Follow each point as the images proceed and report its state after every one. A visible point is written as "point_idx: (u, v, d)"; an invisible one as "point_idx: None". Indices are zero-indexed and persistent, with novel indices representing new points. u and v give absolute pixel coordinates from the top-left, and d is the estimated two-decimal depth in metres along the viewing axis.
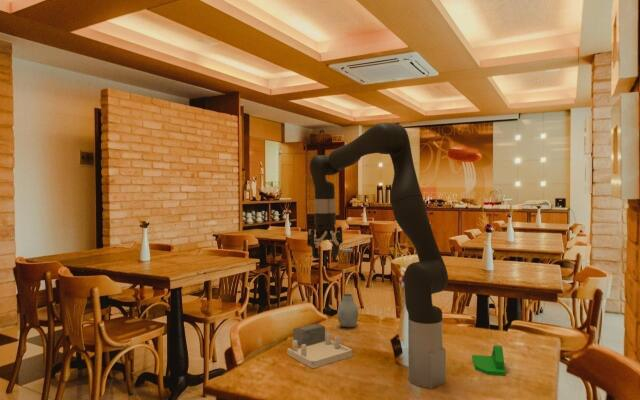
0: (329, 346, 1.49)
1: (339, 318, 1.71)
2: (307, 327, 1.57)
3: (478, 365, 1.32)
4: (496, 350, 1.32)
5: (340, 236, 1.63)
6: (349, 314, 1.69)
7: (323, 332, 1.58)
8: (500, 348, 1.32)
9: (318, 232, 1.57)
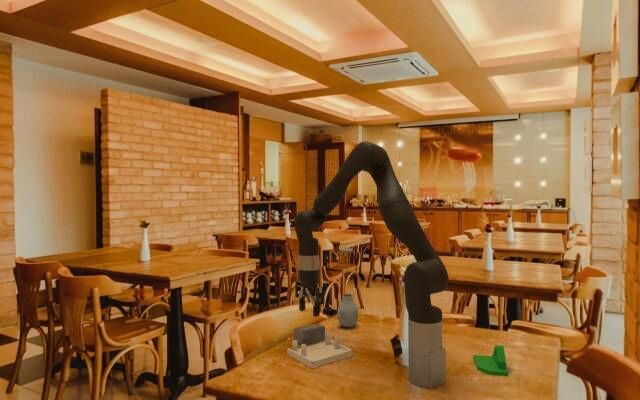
0: (329, 346, 1.49)
1: (339, 318, 1.71)
2: (307, 327, 1.57)
3: (480, 365, 1.32)
4: (498, 350, 1.32)
5: None
6: (349, 314, 1.69)
7: (323, 331, 1.58)
8: (502, 348, 1.32)
9: None
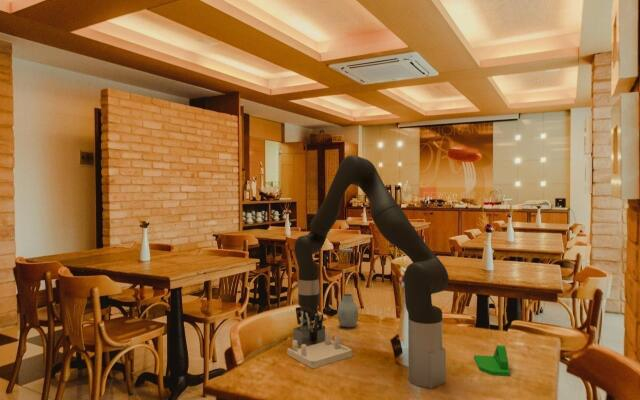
0: (329, 346, 1.49)
1: (339, 318, 1.71)
2: (307, 326, 1.57)
3: (482, 366, 1.32)
4: (500, 350, 1.32)
5: None
6: (349, 314, 1.69)
7: (323, 331, 1.58)
8: (503, 348, 1.32)
9: None
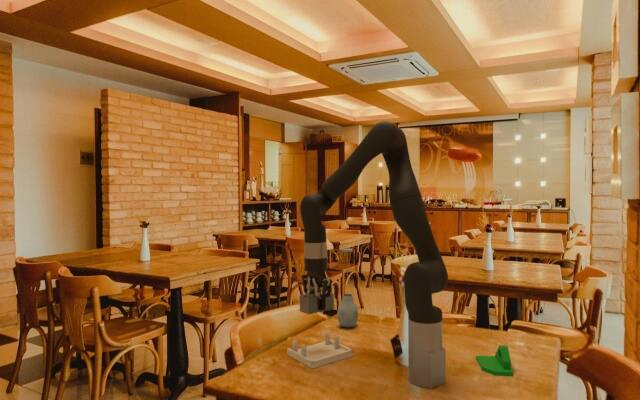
0: (329, 346, 1.49)
1: (339, 318, 1.71)
2: (314, 294, 1.45)
3: (485, 366, 1.31)
4: (502, 350, 1.32)
5: None
6: (349, 314, 1.69)
7: (332, 299, 1.46)
8: (506, 348, 1.32)
9: None
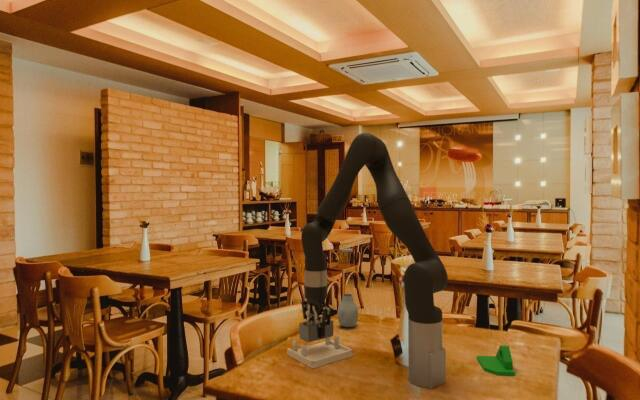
0: (329, 346, 1.49)
1: (339, 318, 1.71)
2: (314, 321, 1.45)
3: (486, 366, 1.31)
4: (503, 350, 1.32)
5: None
6: (349, 314, 1.69)
7: (331, 326, 1.46)
8: (507, 348, 1.32)
9: None
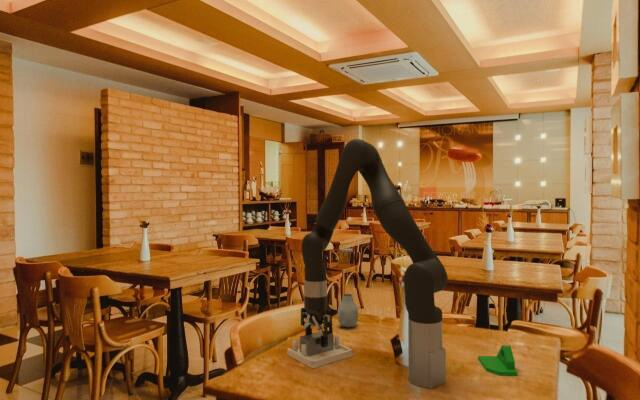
0: None
1: (339, 318, 1.71)
2: (314, 335, 1.45)
3: (488, 366, 1.31)
4: (505, 350, 1.32)
5: None
6: (349, 314, 1.69)
7: (331, 340, 1.46)
8: (509, 348, 1.32)
9: None
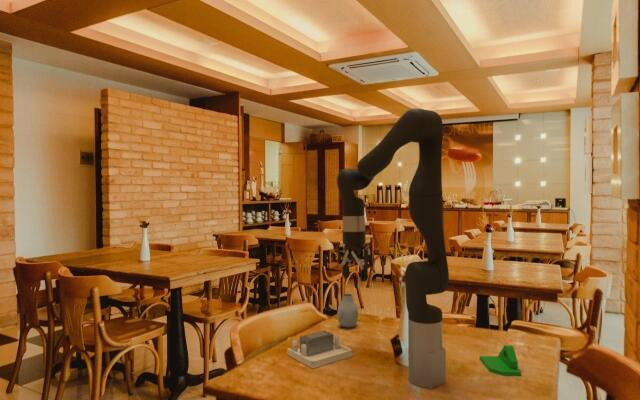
0: None
1: (339, 318, 1.71)
2: (314, 335, 1.45)
3: (491, 366, 1.31)
4: (508, 350, 1.32)
5: None
6: (349, 314, 1.69)
7: (331, 340, 1.46)
8: (511, 348, 1.32)
9: None
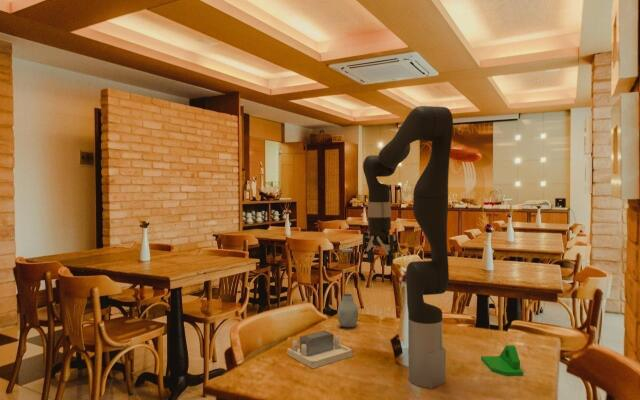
0: None
1: (339, 318, 1.71)
2: (314, 335, 1.45)
3: (494, 367, 1.31)
4: (510, 350, 1.32)
5: None
6: (349, 314, 1.69)
7: (331, 340, 1.46)
8: (513, 348, 1.32)
9: None
